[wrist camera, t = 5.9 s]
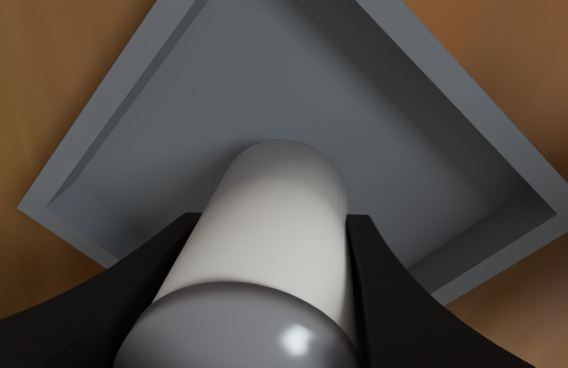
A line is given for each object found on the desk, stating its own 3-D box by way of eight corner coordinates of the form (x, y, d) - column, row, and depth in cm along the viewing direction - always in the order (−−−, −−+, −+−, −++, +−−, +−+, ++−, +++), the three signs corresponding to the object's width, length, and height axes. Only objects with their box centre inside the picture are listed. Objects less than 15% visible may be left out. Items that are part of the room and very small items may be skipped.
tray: (558, 177, 15) (595, 214, 13) (298, 351, 21) (294, 396, 19) (274, -135, 12) (261, -155, 10) (55, 176, 18) (16, 207, 16)
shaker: (378, 205, 14) (422, 426, 7) (282, 274, 16) (241, 508, 9) (285, 107, 13) (229, 254, 6) (192, 193, 15) (63, 387, 8)
